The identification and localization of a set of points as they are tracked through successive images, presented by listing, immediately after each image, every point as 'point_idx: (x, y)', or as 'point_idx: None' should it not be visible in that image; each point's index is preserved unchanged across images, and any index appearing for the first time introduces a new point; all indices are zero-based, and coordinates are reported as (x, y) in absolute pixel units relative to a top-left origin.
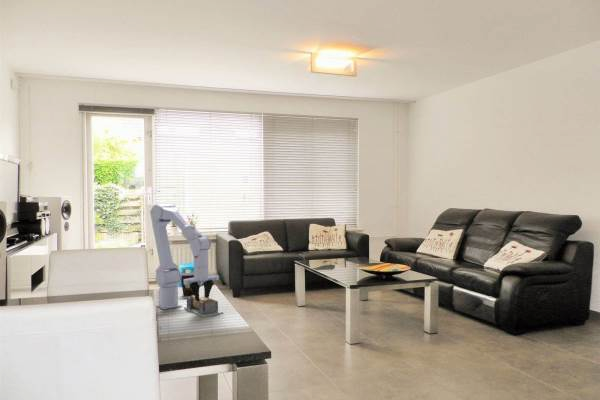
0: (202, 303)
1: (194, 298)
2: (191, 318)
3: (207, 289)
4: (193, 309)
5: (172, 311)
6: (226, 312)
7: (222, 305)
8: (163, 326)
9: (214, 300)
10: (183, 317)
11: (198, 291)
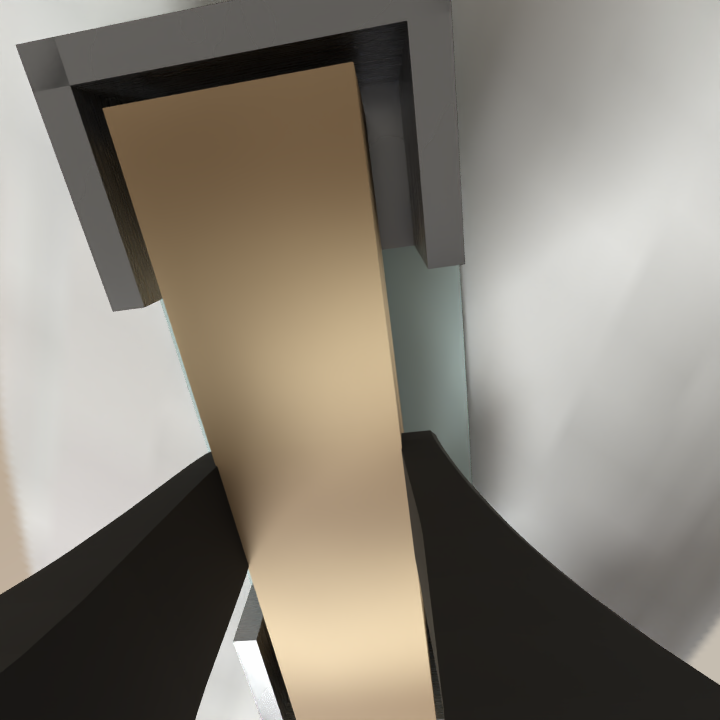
0: (451, 26)
1: (422, 604)
2: (631, 34)
3: (97, 627)
4: None
5: (628, 567)
6: (43, 128)
7: (70, 525)
8: None
9: (96, 194)
10: (690, 190)
11: (447, 564)
